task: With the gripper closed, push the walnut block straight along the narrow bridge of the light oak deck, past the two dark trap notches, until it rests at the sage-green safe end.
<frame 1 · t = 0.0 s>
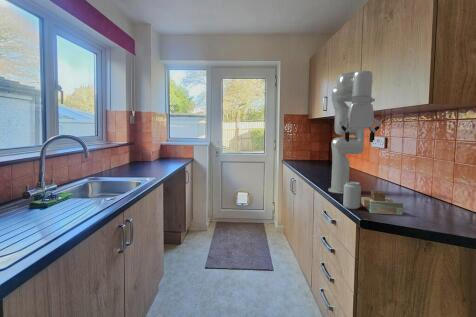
hand: (359, 141, 131), 31 cm above the countertop, tool pointing down, fingers open, 9 cm apart
can: (351, 208, 143), on the countertop
deck: (380, 208, 142), on the countertop
block: (377, 199, 146), point 3 cm above the countertop, touching deck
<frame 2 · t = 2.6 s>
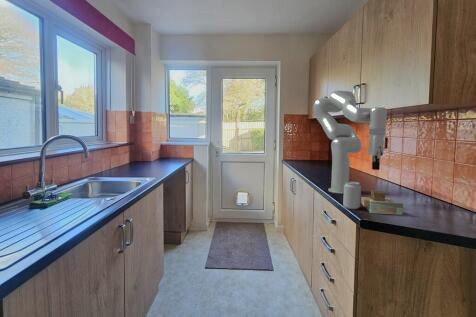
hand: (375, 169, 152), 17 cm above the countertop, tool pointing down, fingers closed
nothing on the countertop moved.
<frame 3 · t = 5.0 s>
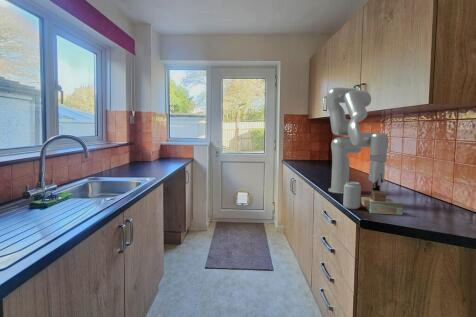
hand: (375, 195, 150), 4 cm above the countertop, tool pointing down, fingers closed
block: (378, 200, 145), point 3 cm above the countertop, touching deck, gripper
everything else where it was.
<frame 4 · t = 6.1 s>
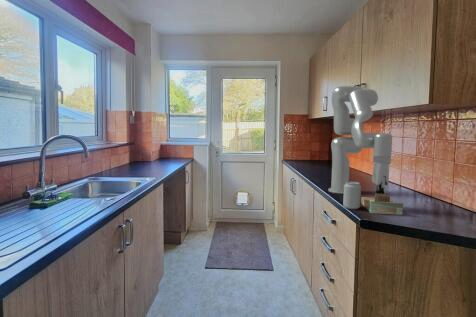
hand: (379, 198, 144), 4 cm above the countertop, tool pointing down, fingers closed
block: (381, 203, 139), point 3 cm above the countertop, touching deck
everything else where it was.
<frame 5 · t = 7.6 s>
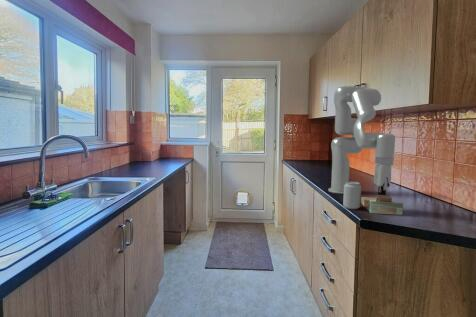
hand: (381, 200, 141), 4 cm above the countertop, tool pointing down, fingers closed
block: (383, 205, 136), point 3 cm above the countertop, touching deck, gripper
everything else where it was.
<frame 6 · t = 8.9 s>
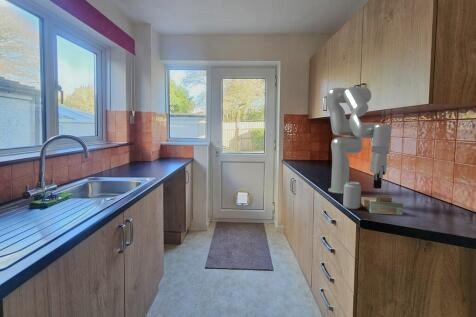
hand: (377, 188, 147), 8 cm above the countertop, tool pointing down, fingers closed
block: (383, 205, 136), point 3 cm above the countertop, touching deck
everything else where it was.
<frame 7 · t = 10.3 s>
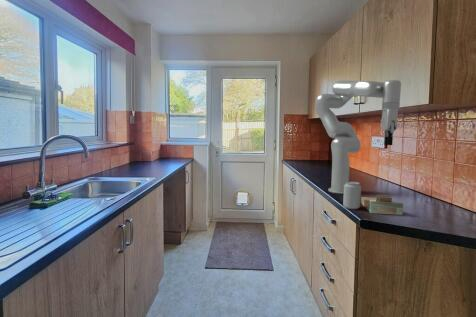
hand: (388, 144, 149), 29 cm above the countertop, tool pointing down, fingers closed
nothing on the countertop moved.
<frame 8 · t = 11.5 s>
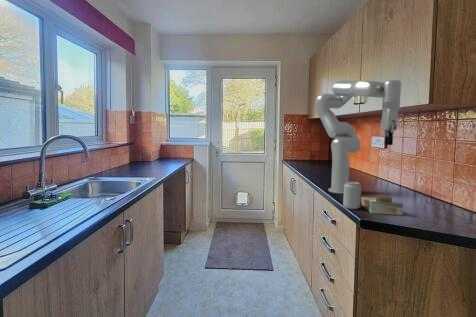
hand: (388, 144, 149), 29 cm above the countertop, tool pointing down, fingers closed
nothing on the countertop moved.
at the end: block 0.3 cm from the target spot on the deck, point 3.0 cm above the deck's base; block tilted 0° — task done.
